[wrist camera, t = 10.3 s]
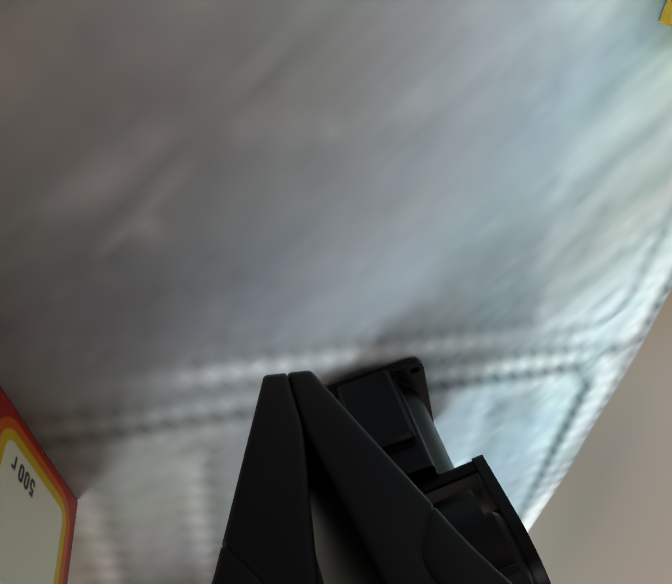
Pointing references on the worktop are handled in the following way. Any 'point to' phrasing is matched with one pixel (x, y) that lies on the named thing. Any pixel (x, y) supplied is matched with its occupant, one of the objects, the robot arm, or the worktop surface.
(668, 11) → the sponge
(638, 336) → the worktop surface
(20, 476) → the baking soda box
